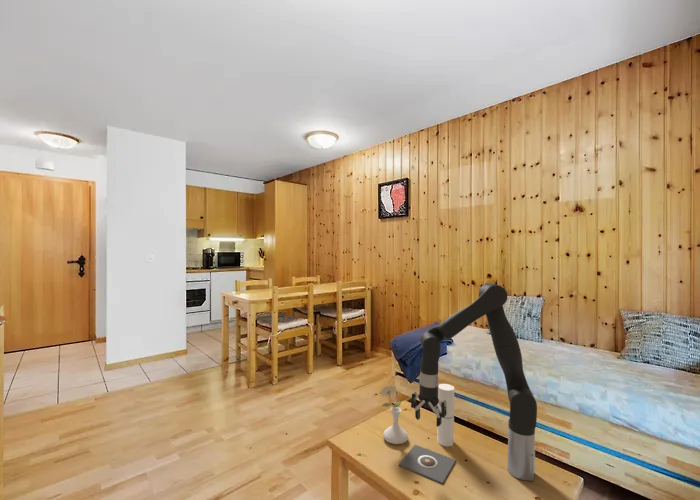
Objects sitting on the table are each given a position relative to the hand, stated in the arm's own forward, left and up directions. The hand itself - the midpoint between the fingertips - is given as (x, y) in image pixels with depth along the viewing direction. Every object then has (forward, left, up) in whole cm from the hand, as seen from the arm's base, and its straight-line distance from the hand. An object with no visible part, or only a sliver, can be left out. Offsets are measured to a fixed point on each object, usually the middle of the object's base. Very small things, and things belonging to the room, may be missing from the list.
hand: (428, 422), depth 135 cm
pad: (0, 0, -17) cm, 17 cm away
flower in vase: (+19, -7, -17) cm, 26 cm away
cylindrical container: (-1, -19, -17) cm, 26 cm away
